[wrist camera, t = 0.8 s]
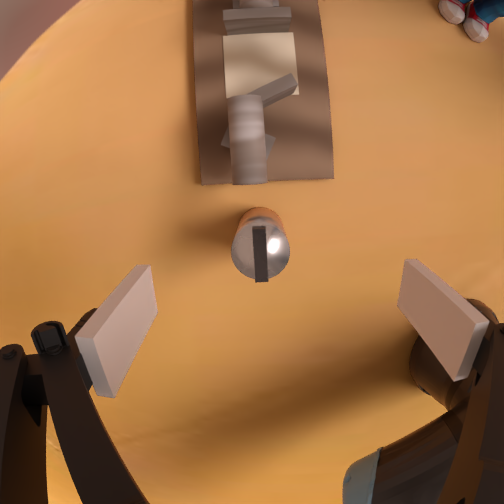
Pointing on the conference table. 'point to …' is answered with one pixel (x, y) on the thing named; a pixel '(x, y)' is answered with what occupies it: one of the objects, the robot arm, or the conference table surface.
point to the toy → (472, 15)
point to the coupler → (260, 245)
